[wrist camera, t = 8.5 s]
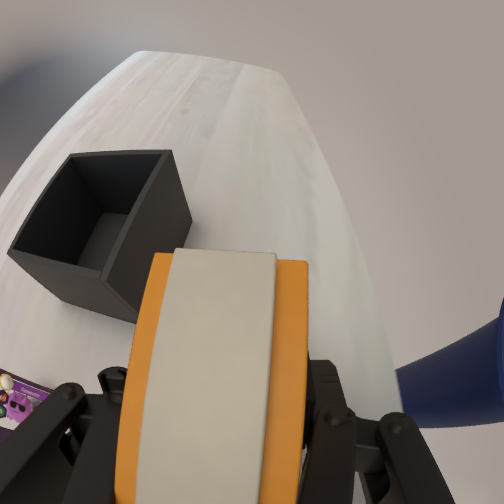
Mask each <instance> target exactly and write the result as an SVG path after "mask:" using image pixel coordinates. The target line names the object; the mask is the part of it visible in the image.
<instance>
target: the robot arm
mask: <svg viewBox="0 0 504 504" xmlns="http://www.w3.org/2000/svg"><path fill="white" fill-rule="evenodd" d="M127 370H128V369H127V368H124V367H110V368H106V369H104V370H103V371H101V372H100V373H99V374H98V375H97V376H98V379H99V382H100V385H101V388H102V391H103V394H85V391H84V389H83V388H82V386H81V385H79V384H77V383H64V384H61V385H60V386H58V387H57V388H56V389H55V390H54V391H53V392H52V393H51V394H50V395H48V396H47V397H46V398H45V399H44V400H43V401H42V402H41V403H40V404H39V405H38V406H37V407H36V408H35V409H34V410H33V411H32V412H31V413H30V414H29V415H28V416H27V417H26V418H25V419H24V420H23V421H22V422H21V423H20V424H19V425H18V426H17V427H16V428H15V429H14V430H13V432H12V433H11V434H10V435H9V436H8V437H7V438H6V439H5V440H4V441H3V442H2V443H1V444H0V504H116V502H115V494H114V488H115V468H116V454H117V443H118V433H119V424H120V416H121V408H122V401H123V394H124V388H125V382H126V376H127ZM68 428H69V429H70V431H69V432H68V433H67V434H65V432H66V431H67V430H68ZM305 446H307V453H306V456H305V460H304V463H303V467H302V473H301V478H300V482H299V486H298V493H297V501H296V504H352V500H353V489H354V475H355V471H356V472H358V473H359V477H360V481H361V484H362V488H363V492H364V496H365V500H366V504H455V502H454V499H453V497H452V495H451V493H450V491H449V488H448V486H447V484H446V482H445V480H444V478H443V476H442V474H441V472H440V470H439V468H438V465H437V464H436V461H435V459H434V458H433V455H432V453H431V452H430V449H429V448H428V446H427V444H426V442H425V440H424V438H423V436H422V435H421V432H420V431H419V428H418V427H417V425H416V423H415V421H414V420H413V419H412V418H411V417H410V416H408V415H407V414H404V413H400V412H391V413H389V414H386V415H384V416H383V417H382V418H381V420H380V421H374V420H367V419H362V418H359V417H357V416H355V413H354V412H353V411H352V410H351V409H350V408H348V407H347V405H346V401H345V397H344V394H343V390H342V387H341V383H340V380H339V376H338V373H337V370H336V367H335V365H334V364H333V363H332V362H331V361H330V360H310V358H309V352H308V358H307V384H306V403H305V419H304V432H303V445H302V450H303V449H305Z"/></svg>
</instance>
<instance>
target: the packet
mask: <svg viewBox="0 0 504 504" xmlns="http://www.w3.org/2000/svg"><path fill="white" fill-rule="evenodd" d="M307 358H308V263H307V261H297V260H278V259H277V256H276V254H275V253H263V252H245V251H226V250H207V249H189V248H176V249H175V251H174V254H173V253H155V255H154V258H153V262H152V265H151V269H150V273H149V276H148V280H147V284H146V288H145V291H144V295H143V299H142V304H141V308H140V312H139V316H138V321H137V325H136V330H135V334H134V339H133V344H132V349H131V354H130V359H129V364H128V370H127V376H126V382H125V388H124V394H123V401H122V408H121V416H120V424H119V433H118V443H117V454H116V468H115V488H114V494H115V502H116V504H296V501H297V493H298V485H299V476H300V466H301V456H302V445H303V432H304V419H305V403H306V384H307Z"/></svg>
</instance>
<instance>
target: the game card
mask: <svg viewBox="0 0 504 504" xmlns="http://www.w3.org/2000/svg"><path fill="white" fill-rule="evenodd" d="M12 378H13V379H15V380H17V381H20V382H22V383H25V384H27V385H30V386H32V387H35V388H38V389H41V390H43V391H46V392H49V393H52V392H53V391H54V390H52V389H49V388H47V387H44V386H41V385H39V384H36V383H33V382H31V381H28V380H26V379H23V378H21V377H19V376H16V375H14V374H12V373H9V372H7V371H5V370H3V369H0V386H1V387H2V388H3V389H4V390H0V418H4V417H6V414H7V418H8V417H9V419H10V420H11V419H14V420H15V421H16V422H18V423H21V422H22V421H23V420H24V419H25V418H26V417H27V416H28V415H29V414H30V413H31V412H32V411H33V407H32V404H31V402H30V400H29V399H28V398H27V395H28V396H31V397H33V398H36V399H39V400H41V401H43V400H44V399H45V398H46V397H47V396H48V395H49V394H47V393H45V392H42V391H40V390H37V389H35V388H32V387H30V386H27V385H25V384H22V383H19V382H17V381H14V380H13V379H12ZM11 389H12V390H14V392H13V393H11V394H9V393H8V394H7V393H6V392H5V390H7V391H8V390H11ZM15 391H17V392H20V393H17V392H15ZM21 393H23V394H26V396H25V395H23V394H21ZM4 404H5V405H6V408H5V407H4V406H3V405H4ZM12 432H13V430H10V429H7V428H4V427H1V426H0V444H1V443H2V442H3V441H4V440H5V439H6V438H7V437H8V436H9V435H10V434H11V433H12Z"/></svg>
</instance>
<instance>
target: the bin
mask: <svg viewBox="0 0 504 504" xmlns="http://www.w3.org/2000/svg"><path fill="white" fill-rule="evenodd" d="M191 223H192V217H191V214H190V211H189V208H188V205H187V201H186V198H185V195H184V191H183V188H182V184H181V181H180V178H179V174H178V171H177V167H176V164H175V160H174V156H173V153H172V150H119V151H100V152H86V153H74V154H70V155H69V156H68V157H67V159H66V160H65V161H64V162H63V164H62V165H61V166H60V168H59V169H58V170H57V172H56V173H55V174H54V176H53V177H52V179H51V180H50V181H49V183H48V184H47V186H46V187H45V189H44V190H43V192H42V193H41V195H40V196H39V198H38V199H37V201H36V202H35V204H34V205H33V207H32V209H31V210H30V212H29V214H28V215H27V217H26V219H25V220H24V222H23V224H22V225H21V227H20V229H19V231H18V233H17V234H16V236H15V238H14V240H13V242H12V244H11V246H10V248H9V250H8V252H7V255H8V256H9V257H10V258H12V259H13V260H14V261H15V262H16V263H17V264H18V265H19V266H20V267H21V268H23V269H24V270H25V271H26V272H27V273H28V274H29V275H31V276H32V277H33V278H34V279H35V280H37V281H38V282H39V283H40V284H41V285H43V286H44V287H45V288H46V289H48V290H49V291H50V292H51V293H53V294H54V295H55V296H56V297H58V298H59V299H60V300H62V301H64V302H67V303H70V304H73V305H76V306H79V307H82V308H85V309H88V310H91V311H94V312H97V313H100V314H104V315H107V316H110V317H113V318H117V319H120V320H124V321H127V322H131V323H134V324H137V321H138V316H139V312H140V308H141V304H142V299H143V295H144V291H145V288H146V284H147V280H148V276H149V273H150V269H151V265H152V262H153V258H154V255H155V253H173V254H174V251H175V249H176V248H183V245H184V242H185V239H186V237H187V234H188V231H189V228H190V226H191Z"/></svg>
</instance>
